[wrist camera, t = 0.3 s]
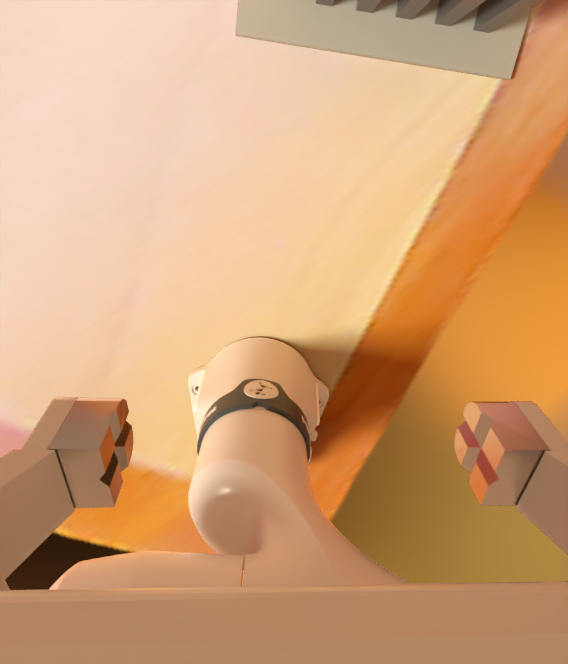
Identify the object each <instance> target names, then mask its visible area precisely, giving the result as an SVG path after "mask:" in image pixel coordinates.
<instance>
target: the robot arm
mask: <svg viewBox="0 0 568 664" xmlns="http://www.w3.org/2000/svg"><path fill="white" fill-rule="evenodd" d="M188 385H189V391H190V397H191V403H192V409H193V415H194V421H195V427H196V433H197V439H198V445H197V452H198V458H197V462H196V466H195V469H194V473H193V477H192V481H191V484H190V488H189V494H188V504H189V510H190V514H191V517H192V520H193V522H194V524H195V526H196V528H197V530H198V531H199V533H200V534H201V536H202V537H203V539H204V540H205V541H206V543H207V544H208V545H209V546H210V547H211V548H212V549H214V550H215V551H216V552H218V553H219V554H203V553H187V552H170V551H153V550H148V551H141V552H134V553H127V554H121V555H114V556H108V557H102V558H97V559H92V560H86V561H81V562H79V563H77V564H75V565H74V566H73V567H71V568H70V569H69V570H68V571H66V572H65V573H64V574H63V575H62V576H61V577H60V578H59V579H58V580H57V581H56V582H55V583H54V584H53V585H52V587H51V588H50V589H49V590H10V589H9V587H8V585H7V583H6V582H5V579H6V578H7V577H8V576H9V575H10V574H11V573H12V572H13V571H14V570H15V569H16V568H17V567H18V566H19V565H20V564H21V563H22V562H23V561H24V560H25V559H26V558H27V557H28V556H29V555H30V554H31V553H32V552H33V551H34V550H35V549H36V548H37V547H38V546H39V545H40V544H41V543H42V542H43V541H44V540H45V539H46V538H47V537H48V536H49V535H50V534H51V533H52V532H53V531H54V530H55V529H56V528H57V527H59V526H60V525H61V524H62V523H63V522H64V521H65V520H66V519H67V518H68V517H69V516H70V515H71V514H72V513H73V512H74V511H75V509H74V508H98V507H114V506H115V503H116V501H117V498H118V495H119V492H120V489H121V486H122V483H123V480H122V475H121V471H123V470H124V469H125V468H126V467H128V465H129V462H130V459H131V456H132V449H133V431H132V426H131V425H130V424H129V423H128V422H127V421H126V418H127V415H128V413H129V410H128V406H127V401H126V400H124V399H122V398H90V397H80V398H77V397H57V398H55V399H54V400H52V401H51V403H50V405H49V406H48V408H47V409H46V411H45V413H44V414H43V416H42V417H41V419H40V420H39V422H38V424H37V425H36V427H35V428H34V430H33V431H32V433H31V435H30V436H29V438H28V439H27V441H26V443H25V444H24V446H23V447H22V449H21V450H13V451H11V452H10V453H8V454H6V455H5V456H3V457H2V458H0V664H568V582H510V583H509V582H508V583H507V582H506V583H444V584H408V583H407V581H406V580H404V579H403V578H402V577H400V576H398V575H396V574H394V573H392V572H391V571H389V570H387V569H385V568H383V567H382V566H380V565H379V564H377V563H376V562H374V561H373V560H371V559H370V558H368V557H367V556H366V555H364V554H363V553H362V552H361V551H359V550H358V549H357V548H356V547H354V546H353V545H352V544H351V543H350V542H349V541H348V540H347V539H346V538H345V537H344V536H343V535H342V534H341V533H340V532H339V531H338V530H337V529H336V528H335V527H334V525H333V524H332V523H331V522H330V521H329V519H328V518H327V517H326V515H325V514H324V513H323V511H322V510H321V508H320V506H319V505H318V503H317V501H316V499H315V496H314V493H313V489H312V484H311V480H310V474H309V469H308V463H309V462H310V459H311V456H312V447H311V441H315V440H316V438H317V431H316V430H315V428H316V426H318V425H319V423H320V417H321V414H322V412H323V410H324V408H325V405H326V403H327V401H328V398H329V389H328V388H327V386H326V385H325V384H323V383H322V382H321V381H320V380H318V379H317V378H316V377H315V376H314V375H313V373H312V372H311V370H310V368H309V366H308V364H307V362H306V361H305V359H304V358H303V357H302V356H301V355H300V354H299V353H298V352H297V351H296V350H295V349H293V348H292V347H290V346H289V345H287V344H285V343H283V342H280V341H278V340H274V339H270V338H262V337H255V338H247V339H243V340H239V341H236V342H234V343H232V344H230V345H228V346H227V347H225V348H224V349H222V350H221V351H220V352H219V353H218V354H217V355H216V356H215V357H214V358H213V360H212V361H211V362H210V363H208V364H207V365H205V366H202V367H200V368H198V369H196V370H194V371H193V372H191V373H190V375H189V379H188ZM197 386H199V388H198V389H197V388H196V387H197ZM319 400H320V401H319ZM463 416H464V418H465V420H466V421H465V422H464V423H463V424H462V425H460V426H459V427H458V428H457V432H456V435H455V452H456V456H457V459H458V461H459V463H460V465H461V466H462V467H463V468H464V469H466V470H467V471H468V472H469V473H471V475H470V478H469V481H468V482H469V484H470V486H471V488H472V490H473V492H474V494H475V496H476V498H477V500H478V502H479V504H480V505H498V506H516V508H517V509H518V510H519V511H520V512H521V513H522V514H523V515H524V516H526V517H527V518H528V519H529V520H530V521H531V522H532V523H533V524H534V525H535V526H537V527H538V528H539V529H540V530H541V531H542V532H543V533H544V534H545V535H547V536H548V537H549V538H550V539H551V540H552V541H553V542H554V543H556V544H557V545H558V546H559V547H560V548H561V549H562V550H563V551H564V552H566V553H567V554H568V443H567V442H566V441H565V439H564V438H563V437H562V435H561V434H560V433H559V432H558V430H557V429H556V428H555V427H554V425H553V424H552V423H551V422H550V421H549V419H548V418H547V417H546V415H545V414H544V413H543V412H542V411H541V409H540V408H539V407H538V406H537V405H536V404H535V403H533V402H531V401H516V402H515V401H513V402H512V401H511V402H469V403H468V404H467V405H466V406H465V409H464V411H463ZM243 570H244V578H243V587H242V576H243Z"/></svg>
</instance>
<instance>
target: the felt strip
mask: <svg viewBox="0 0 568 664" xmlns="http://www.w3.org/2000/svg"><path fill="white" fill-rule="evenodd" d="M356 5H357V0H334V2H333V5H332V6H326V5H320V4H316V0H238V9H237V22H236V36H240V37H246V38H252V39H258V40H265V41H271V42H277V43H283V44H289V45H295V46H302V47H308V48H314V49H320V50H326V51H332V52H339V53H345V54H351V55H357V56H363V57H369V58H376V59H382V60H388V61H394V62H400V63H406V64H412V65H419V66H425V67H431V68H437V69H443V70H449V71H456V72H462V73H468V74H474V75H480V76H486V77H493V78H499V79H505V80H509V79H511V75H512V72H513V69H514V65H515V62H516V58H517V55H518V52H519V48H520V45H521V41H522V38H523V35H524V31H525V28H526V24H527V21H528V18H529V14H530V11H531V9H530V10H528V11H526V12H525V13H523V14H521V15H519V16H518V17H516V18H514V19H512V20H511V21H509V22H507V23H505V24H503V25H502V26H500V27H498V28H496V29H495V30H493V31H491V32H489V33H486V32H481V31H475V30H473V28H474V24H475V20H476V16H477V12H478V8H479V6H477V7H476V8H475V9H473V10H472V11H471V12H469V13H468V14H466V15H465V16H464V17H462V18H461V19H460V20H458V21H457V22H455V23H454V24H453V25H451V26H445V25H439V24H434V23H435V18H436V14H437V9H438V5H439V0H431V1H430V2H429V3H428V4H427V5H426V6H425V7H424V8H423V9H422V10H421V11H420V12H419V13H418V14H417V15H416V16H415V17H414V18H413V19H412V20H409V19H403V18H398V17H395V15H396V10H397V5H398V0H380V2H379V3H378V5H377V6H376V8H375V9H374V11H373V12H372V13H368V12H362V11H356Z"/></svg>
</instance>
